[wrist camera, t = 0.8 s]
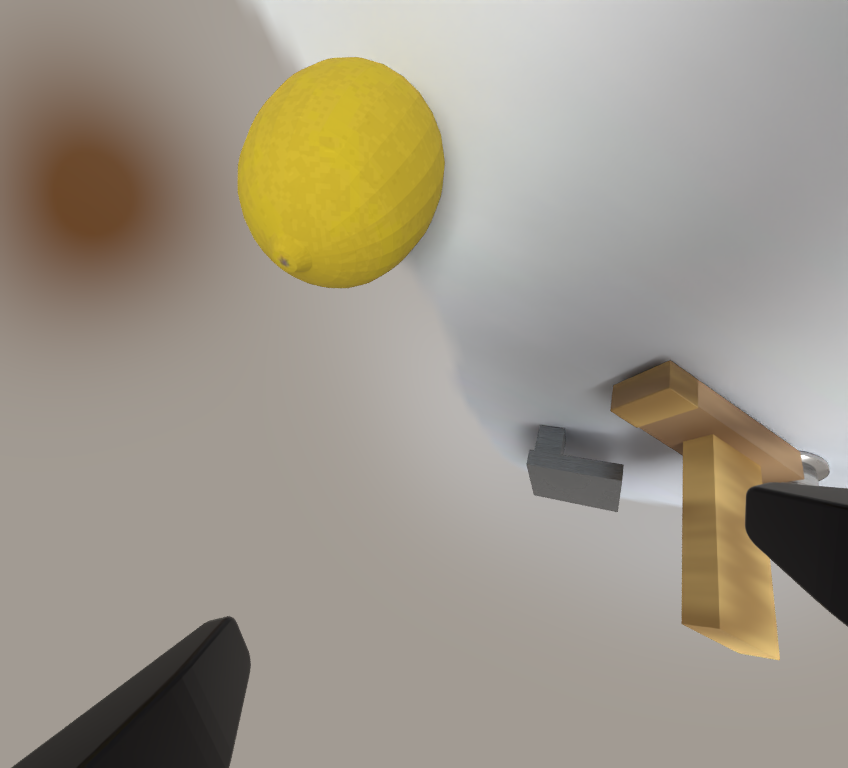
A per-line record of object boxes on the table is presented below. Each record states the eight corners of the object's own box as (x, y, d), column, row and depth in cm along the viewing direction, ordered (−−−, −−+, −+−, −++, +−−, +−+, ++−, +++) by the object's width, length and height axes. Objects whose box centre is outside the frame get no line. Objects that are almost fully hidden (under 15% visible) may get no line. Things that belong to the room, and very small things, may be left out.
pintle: (824, 442, 20) (835, 500, 19) (845, 480, 22) (857, 535, 21) (728, 450, 23) (731, 500, 22) (754, 483, 25) (758, 532, 24)
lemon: (483, 186, 16) (411, 345, 12) (358, 194, 18) (259, 330, 14) (456, -6, 11) (326, 136, 7) (296, 35, 14) (126, 162, 9)
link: (800, 450, 21) (836, 680, 16) (733, 463, 24) (745, 663, 18) (670, 358, 19) (663, 588, 14) (613, 383, 21) (589, 584, 16)
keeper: (627, 423, 25) (622, 481, 23) (622, 459, 28) (617, 512, 26) (537, 413, 27) (526, 464, 25) (543, 447, 30) (534, 495, 28)
